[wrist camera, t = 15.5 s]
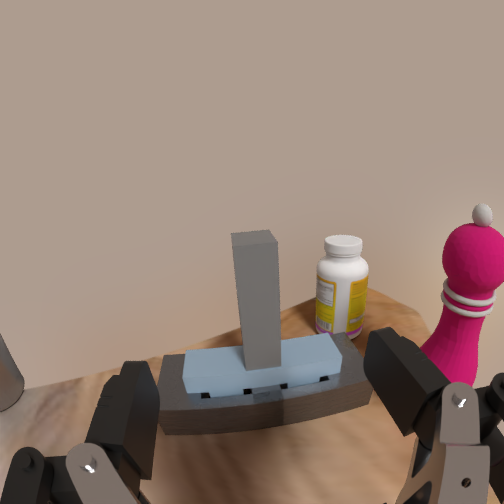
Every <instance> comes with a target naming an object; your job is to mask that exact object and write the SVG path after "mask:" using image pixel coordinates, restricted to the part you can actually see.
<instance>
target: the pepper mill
mask: <svg viewBox="0 0 504 504" xmlns="http://www.w3.org/2000/svg"><path fill="white" fill-rule="evenodd" d="M472 218H473V221H474V223H469V224H464V225H462V226H460V227H458V228H456V229H455V230H454V231H453V232H452V233H451V234H450V235H449V237H448V239H447V241H446V243H445V246H444V250H443V255H442V263H443V268H444V270H445V273H446V275H447V276H448V278H447V279H446V280H445V281H444V283H443V288H444V289H443V291H442V293H441V299H442V302H443V303H444V306H443V312H442V315H441V318H440V321H439V324H438V326H437V328H436V329H435V332H434V333H433V334H432V335H431V336H430V338H429V339H428V340H427V341H426V342H425V343H424V344H423V345H422V346H421V348H420V349H421V350H422V352H424V353H425V354H426V356H427V357H428V359H430V360H431V361H432V362H433V363H434V364H435V365H436V366H437V367H438V368H439V370H440V371H441V372H442V373H443V374H444V375H445V376H446V377H447V378H448V379H449V381H450V382H451V383H454V382H462V383H466V384H468V385H470V386H471V387H472V385H473V383H474V381H475V378H476V373H477V367H478V341H479V334H480V330H481V327H482V323H483V321H484V319H485V316H486V315H488V314H490V313H491V311H492V309H493V302H494V301H495V299H496V292H495V289H496V288H497V287H499V286H500V285H501V284H502V283H503V282H504V237H503V236H502V235H501V234H500V233H499V232H498V231H496V230H495V229H493V228H492V227H490V226H489V225H490V224H491V222H492V218H493V214H492V211H491V209H490V208H489V207H488V206H487V205H486V204H478V205H477V206H476V207H475V208H474V210H473V213H472Z"/></svg>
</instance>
